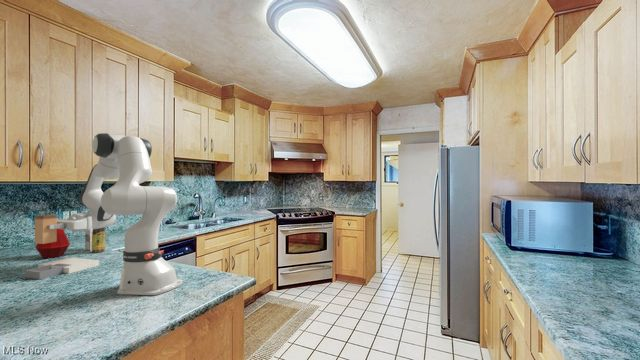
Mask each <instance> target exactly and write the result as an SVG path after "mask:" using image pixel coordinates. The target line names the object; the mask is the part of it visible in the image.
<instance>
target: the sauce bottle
mask: <svg viewBox="0 0 640 360" xmlns="http://www.w3.org/2000/svg"><path fill="white" fill-rule="evenodd" d="M106 234H107V233H106V229H105V227H104V228H98V229H93V231H92V248H91V249H92V250H91V253H94V254H96V253H103V252H105V251H106Z"/></svg>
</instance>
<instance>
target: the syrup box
mask: <svg viewBox="0 0 640 360" xmlns="http://www.w3.org/2000/svg"><path fill="white" fill-rule="evenodd" d="M92 231H93V229H91V230H85V231H84V233H85V234H84V236H85V237H84V238H85V241H84V243H85V244H84V245H85V246H84V247H85V250H86V251H91V252H92V249H91V248H92Z"/></svg>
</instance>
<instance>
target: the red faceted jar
mask: <svg viewBox="0 0 640 360" xmlns="http://www.w3.org/2000/svg"><path fill="white" fill-rule="evenodd" d="M70 245H71V243H70V241H69V239H68V236H67V234H66V232H65V229H57V242H51V243H45V244H38V243H36V246H35V249H36V252H37V251H38V253H39V255H40V256H41V258H42V259H55V257H57V258H61V257H63V256H64V255H65V254H66V252H67V250H68V249H69V248H70ZM60 256H61V257H60Z"/></svg>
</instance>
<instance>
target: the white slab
mask: <svg viewBox="0 0 640 360" xmlns="http://www.w3.org/2000/svg"><path fill="white" fill-rule="evenodd" d="M98 266H100V259H93V258H92V259H90V258H80V257H78V258H77V257H70V256H69V257H66V258H61V259H55V260H53V261H48V262H44V263H39V264H37V267H33V268H30V269H26V270H24V278H25V279H26V278H27V279H34V280H35V279H36V280H42V279H46V278H49V277H54V276H57V275H60V274H61V275H62V274H68V275H69V274H73V273H77V272H80V271H84V270H87V269H90V268H95V267H98Z"/></svg>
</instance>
